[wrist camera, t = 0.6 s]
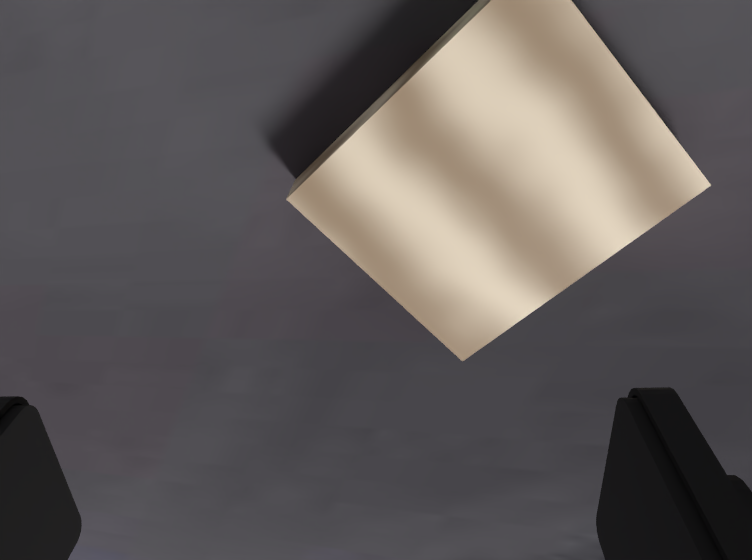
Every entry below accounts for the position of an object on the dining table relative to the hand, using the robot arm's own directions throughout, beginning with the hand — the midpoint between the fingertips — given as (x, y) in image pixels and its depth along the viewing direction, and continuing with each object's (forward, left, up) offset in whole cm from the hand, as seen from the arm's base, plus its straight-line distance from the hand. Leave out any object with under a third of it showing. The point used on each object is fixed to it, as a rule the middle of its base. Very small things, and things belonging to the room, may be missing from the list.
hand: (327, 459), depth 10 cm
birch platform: (-1, +7, -25) cm, 26 cm away
